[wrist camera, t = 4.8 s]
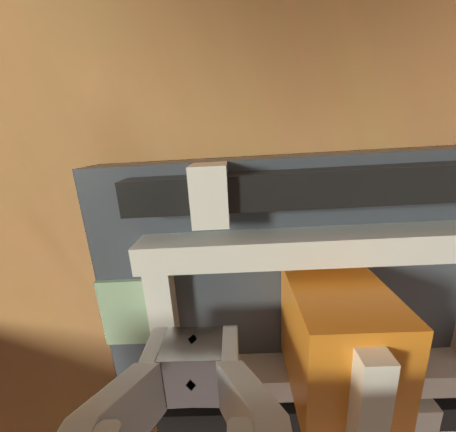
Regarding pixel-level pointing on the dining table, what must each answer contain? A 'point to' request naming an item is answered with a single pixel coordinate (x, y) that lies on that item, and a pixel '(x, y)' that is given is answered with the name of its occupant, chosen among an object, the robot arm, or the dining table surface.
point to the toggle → (351, 351)
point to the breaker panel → (271, 252)
